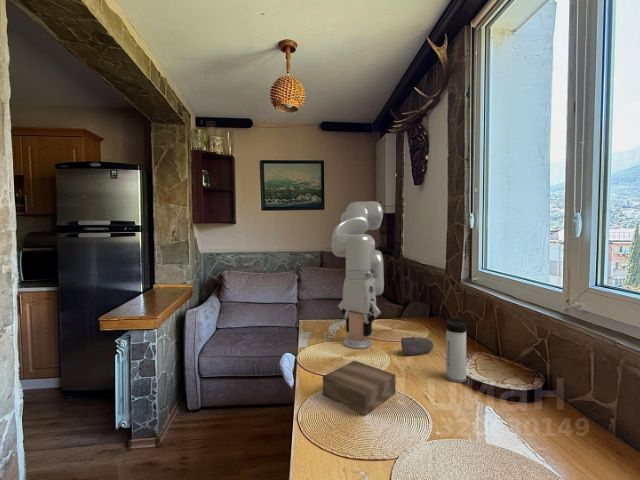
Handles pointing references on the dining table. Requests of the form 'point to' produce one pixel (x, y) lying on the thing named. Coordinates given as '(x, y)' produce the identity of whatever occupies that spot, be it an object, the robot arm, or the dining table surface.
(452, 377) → the travel mug
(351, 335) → the terracotta canister
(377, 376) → the walnut riser block
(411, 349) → the dark grey rounded block
